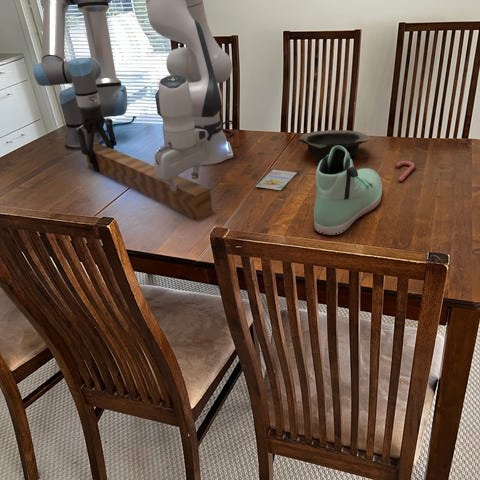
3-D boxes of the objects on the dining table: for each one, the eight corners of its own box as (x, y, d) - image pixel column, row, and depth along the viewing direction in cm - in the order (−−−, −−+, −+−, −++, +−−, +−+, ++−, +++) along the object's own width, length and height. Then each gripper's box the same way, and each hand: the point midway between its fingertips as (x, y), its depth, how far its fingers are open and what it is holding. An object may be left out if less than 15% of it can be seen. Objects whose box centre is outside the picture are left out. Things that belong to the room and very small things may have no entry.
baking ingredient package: (255, 185, 155) (273, 168, 166) (255, 187, 155) (273, 170, 166) (280, 189, 151) (297, 171, 163) (280, 190, 151) (297, 173, 163)
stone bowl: (326, 174, 159) (325, 147, 154) (286, 157, 179) (284, 133, 175) (384, 156, 168) (385, 130, 163) (340, 142, 188) (339, 118, 184)
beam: (88, 167, 181) (83, 147, 176) (102, 162, 184) (97, 142, 180) (198, 220, 139) (194, 195, 135) (212, 213, 142) (209, 188, 138)
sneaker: (389, 187, 148) (396, 123, 138) (356, 242, 123) (361, 168, 112) (346, 181, 154) (350, 119, 144) (306, 232, 129) (307, 161, 118)
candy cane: (383, 179, 154) (383, 175, 153) (399, 163, 164) (400, 158, 163) (401, 183, 151) (402, 178, 150) (417, 166, 161) (417, 161, 160)
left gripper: (70, 114, 158) (86, 179, 170) (118, 101, 168) (131, 162, 181) (59, 111, 163) (76, 173, 175) (107, 98, 173) (120, 158, 185)
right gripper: (163, 151, 124) (170, 199, 131) (210, 129, 138) (214, 173, 145) (145, 148, 127) (153, 195, 134) (193, 126, 142) (198, 170, 149)
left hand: (104, 168), depth 178 cm, fingers closed on beam, 6 cm apart
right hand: (185, 183), depth 140 cm, fingers open, 8 cm apart
